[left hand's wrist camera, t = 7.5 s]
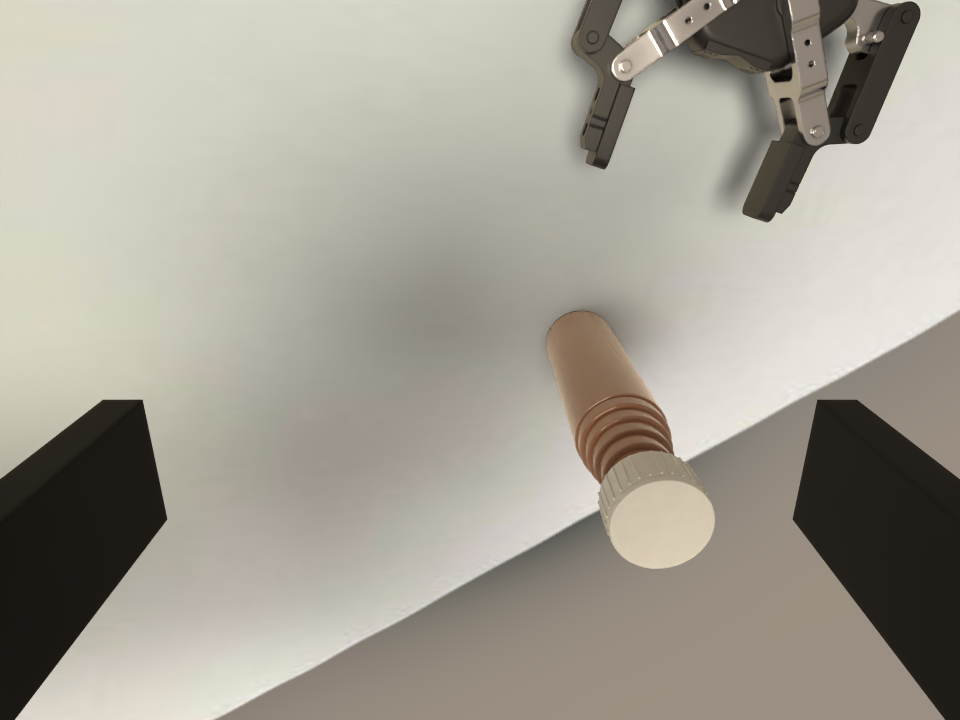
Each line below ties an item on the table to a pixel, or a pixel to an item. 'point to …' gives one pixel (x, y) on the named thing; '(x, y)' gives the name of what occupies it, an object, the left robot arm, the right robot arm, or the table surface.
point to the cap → (655, 510)
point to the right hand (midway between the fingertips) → (676, 192)
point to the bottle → (603, 394)
